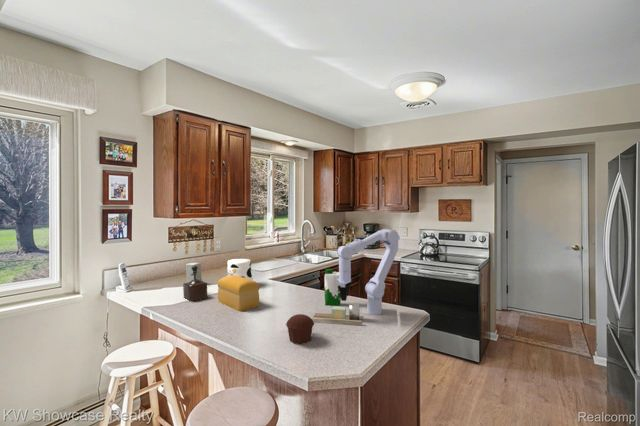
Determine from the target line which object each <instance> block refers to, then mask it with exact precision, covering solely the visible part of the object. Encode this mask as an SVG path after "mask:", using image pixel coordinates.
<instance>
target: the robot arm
mask: <svg viewBox="0 0 640 426" xmlns="http://www.w3.org/2000/svg"><path fill="white" fill-rule="evenodd" d="M399 240H400V235H399V232H398V231H397V230H395V229H387V228H382V229H380V230H377V231H376V232H374V233H372V234H371V235H369V236H367V237H365V238H364V239H358V238H355V239H353V241H352V242H349V243H346V244H345V245H342V246H339V247H338V249H337V251H336V254H337V255H338V272H339V279H337V281H339V282H340V283H341V286H339V285H338V289H339V292H340V295H341V301H343V302H346V301H347V299H348V297H349V292H350V287H351V285H352V283H353V281H352V278H351V277H352V276H351V275H352V272H351V271H352V268H351V265H352V263H351V259H352V257H353V256H354V255H355V254H357V253H359V252H362V251H364V250H365V247H366V246H369V245H371V244H374V243H375V242H378V241H382V243H383V244H384V247H385V248H386V249H385V252H384V253H383V256H382V258H381V261H380V262H379V265H378V267H377V269H376V271H375V274H374V276H373V277H371V278H370V279H369V280H368V282H367V283H366V285H365V287H364V290H365V293H366V295H367V298H366V299H367V300H366V303H367V305H366V306H367V307H366V308H367V310H366V312H367V314H369V315H373V316H378V315H381V314H382V313H383V311H382V310H383V309H382V308H383V307H382V306H383V303H382V302H383V300H382V299H383V297H384V295H385V289H386V283H385V280H386V278H387V276H388V273H389V272H390V269H391V268H392V265H393V262H394V260H395V257H396V256H397V253H398V251H399Z"/></svg>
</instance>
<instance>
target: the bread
mask: <svg viewBox="0 0 640 426" xmlns="http://www.w3.org/2000/svg"><path fill="white" fill-rule="evenodd" d="M217 287H218V288H217V300H218V303H220V302H221V303H220V304H222V303H223V304H222V305H224V304H225V306H226V305H227V306H226V307H228V306H229V308H231V309H233V310H235V311H237V312H244V311H246V310H250V309H254V308H258V307H259V306H260V292H259V291H260V285H259V283H258V282H256V281H255V280H250V279H247V278H243V277H240V276H236V275H229V276H227V275H226V276H223V277H221V278H220V279H219V280H217Z"/></svg>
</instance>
